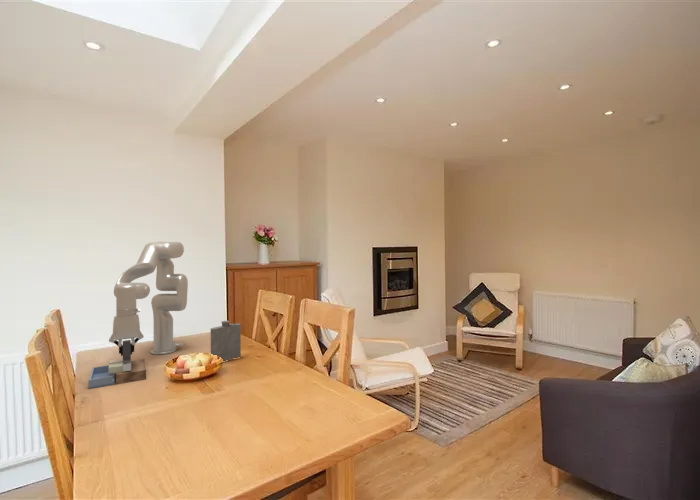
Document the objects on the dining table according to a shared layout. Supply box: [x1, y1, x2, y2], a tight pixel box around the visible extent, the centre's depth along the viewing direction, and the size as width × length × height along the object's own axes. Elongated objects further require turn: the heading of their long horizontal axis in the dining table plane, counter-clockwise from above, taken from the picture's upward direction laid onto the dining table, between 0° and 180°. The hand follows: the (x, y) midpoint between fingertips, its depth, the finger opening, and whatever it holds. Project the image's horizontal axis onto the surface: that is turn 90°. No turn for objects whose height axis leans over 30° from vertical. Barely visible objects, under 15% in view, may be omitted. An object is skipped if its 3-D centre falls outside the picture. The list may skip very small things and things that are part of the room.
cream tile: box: [108, 357, 123, 365], centre depth 159 cm, size 5×5×2 cm
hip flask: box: [210, 320, 242, 361], centre depth 180 cm, size 16×4×20 cm, turn 139°
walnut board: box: [115, 358, 147, 385], centre depth 159 cm, size 11×18×4 cm, turn 32°
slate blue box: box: [88, 364, 116, 389], centre depth 154 cm, size 8×18×4 cm, turn 32°
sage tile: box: [108, 363, 123, 374], centre depth 153 cm, size 5×5×2 cm
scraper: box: [122, 339, 132, 372], centre depth 159 cm, size 3×16×11 cm, turn 32°
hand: (126, 353), depth 159 cm, fingers closed on scraper, 3 cm apart
